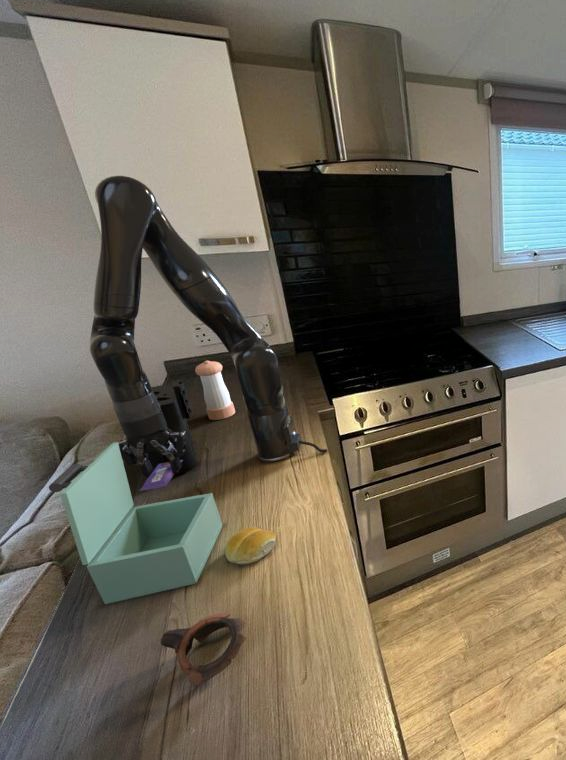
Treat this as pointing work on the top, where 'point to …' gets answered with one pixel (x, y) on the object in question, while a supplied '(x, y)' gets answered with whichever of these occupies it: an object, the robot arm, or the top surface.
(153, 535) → the box
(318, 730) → the top surface
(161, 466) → the snack package
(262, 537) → the bread roll
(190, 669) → the brown ring with stub
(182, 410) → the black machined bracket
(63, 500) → the cold box lid
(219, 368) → the pepper shaker
